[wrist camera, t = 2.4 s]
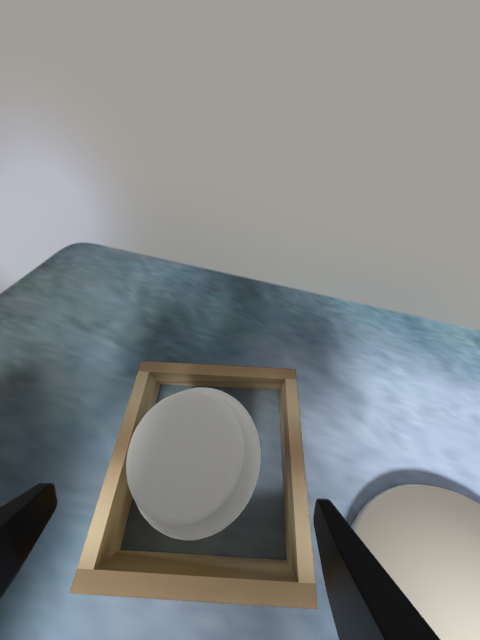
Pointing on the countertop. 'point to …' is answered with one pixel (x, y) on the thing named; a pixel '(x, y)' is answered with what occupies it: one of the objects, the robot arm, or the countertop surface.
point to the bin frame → (191, 569)
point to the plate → (429, 553)
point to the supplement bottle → (193, 463)
